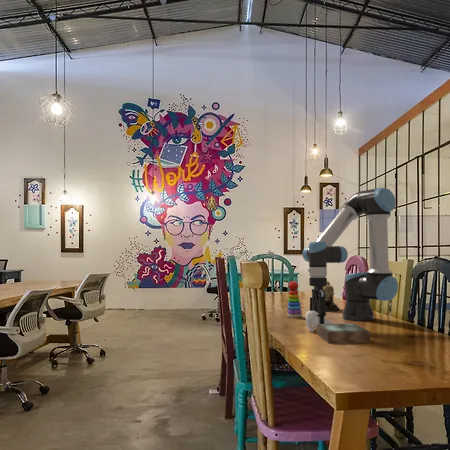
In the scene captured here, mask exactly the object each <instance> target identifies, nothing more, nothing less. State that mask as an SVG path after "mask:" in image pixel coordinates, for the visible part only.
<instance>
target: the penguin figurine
mask: <svg viewBox="0 0 450 450" xmlns="http://www.w3.org/2000/svg"><path fill="white" fill-rule="evenodd" d="M317 315H318V313H317V312H316V311H312V310H307V312H306V313H305V315H304V317H305V325H306V327H307V329H308V330H309V331H310V332H312V333H314V332H315V330H317V329H316V328H317V325H318V317H317ZM325 324H334V323H333V321H332V320H329V319H327V318H325Z"/></svg>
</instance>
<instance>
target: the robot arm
mask: <svg viewBox="0 0 450 450" xmlns="http://www.w3.org/2000/svg"><path fill="white" fill-rule="evenodd" d="M395 208H396V198H395V194H394V193H393V192H392V190H390V189H389V188H386V187H378V188H371V189H366V190H361V191H360V190H359V191H358V192H355V193H354V194H352V195H351V196H350V197H349V198H348V199H347V200H346V201H345V202H344V203H343V204H342V205H341V207H340V208H339V213H337V214H336V216H335V217H334V219H332V220H331V222H330V223H329V224H328V226H327V227H326V228H325V229H324V230H323V232H321V234H320V235H319V237H318V238H317V239H316V240H315V241H310V242H309V244H308V246H305V247H304V248H303V251H302V258H303V259H304V261H305V262H307V263H308V266H309V268H308V269H307V272H309V276H310V277H309V279H308V281H309V283H308V284H309V286H311V287H313V288H312V289H311V311H316V312H317V313H318V315H317V317H318V325H320V324H325V319H326V316H327V311H326V303H325V294H326V293H325V292H324V291H323V286H327V281H328V278H327V275H328V270H327V269H328V266H327V264H340V263H341V264H343V263H345V262H346V261H347V260H348V256H349V255H348V253H349V252H348V249H347V248H346V247H345V246H340V245H334V244H335V243H336V242H337V240H338V239H339V238H340V237H341V236H342V235H343V233H344V232H345V230H346V229H347V228H348V227H349V225H350V224H351V222H353V221H356V220H357V219H358V217H360V216H362V215H364V217H365V218H366V219H367V220H368V245H369V246H368V247H369V248H368V249H369V250H368V251H369V254H368V255H369V268H368V270H367V271H366V272H365V271H364V272H356V273H355V272H353V273H348V274H346V275H345V281H344V282H345V285H344V286H345V305H344V308H343V313H342V318H343V319H345V320H347V321H358V322H359V321H363V322H364V321H365V322H367V321H373V320H375V312H374V310H373V308H372V305H371V300H374V301H375V300H376V301H381V302H382V301H383V302H385V301H386V302H387V301H391V300H393V299H394V298H395V296H396V295H397V293H398V291H399V283H398V280H397V278H396V277H394V276H393V271H391V270H390V268H389V267H390V266H389V265H390V264H389V237H388V236H389V235H388V232H389V231H388V219H389V218H390V217H391V212H392V211H394V209H395ZM315 330H317V328H316V329H315Z"/></svg>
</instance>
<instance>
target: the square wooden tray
mask: <svg viewBox="0 0 450 450" xmlns="http://www.w3.org/2000/svg"><path fill="white" fill-rule="evenodd" d="M316 334H317V335H318V337H320V338H321V339H323V341H325V343H327V344H343V343H344V344H346V343H348V344H351V343H352V344H353V343H354V344H355V343H371V330H370V331H369V330H368V329H365V328H363V327H362V326H360V325H357V324H356V323H333V324H320V325H317V329H316Z"/></svg>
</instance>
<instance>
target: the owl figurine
mask: <svg viewBox="0 0 450 450" xmlns="http://www.w3.org/2000/svg"><path fill="white" fill-rule="evenodd" d="M334 290H335V288H334V287H333V285H331V282H330V281H328V280H327V286H323V291H324V292H325V293H326V294H325V303H326V312H331V313H333V312H334V313H336V312H339V311H340V308H339V307H338V305H337V304H336V303H335V302H334V295H335V291H334Z"/></svg>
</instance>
